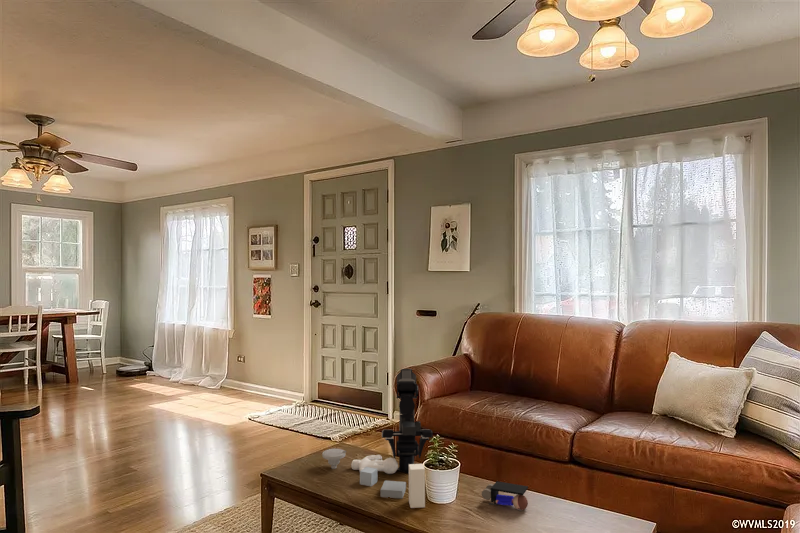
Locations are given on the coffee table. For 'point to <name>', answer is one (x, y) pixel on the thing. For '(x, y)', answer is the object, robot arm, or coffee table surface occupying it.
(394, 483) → the plinth
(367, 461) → the figure
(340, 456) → the showerhead
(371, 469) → the cube
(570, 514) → the coffee table surface
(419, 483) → the pillar
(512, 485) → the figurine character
